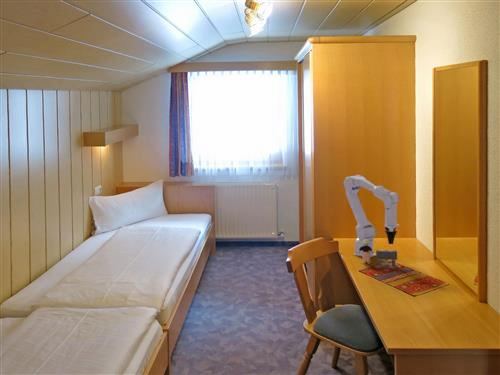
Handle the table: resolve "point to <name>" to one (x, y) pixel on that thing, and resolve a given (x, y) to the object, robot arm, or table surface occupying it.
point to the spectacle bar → (386, 254)
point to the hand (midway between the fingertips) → (390, 242)
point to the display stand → (386, 264)
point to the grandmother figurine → (365, 251)
